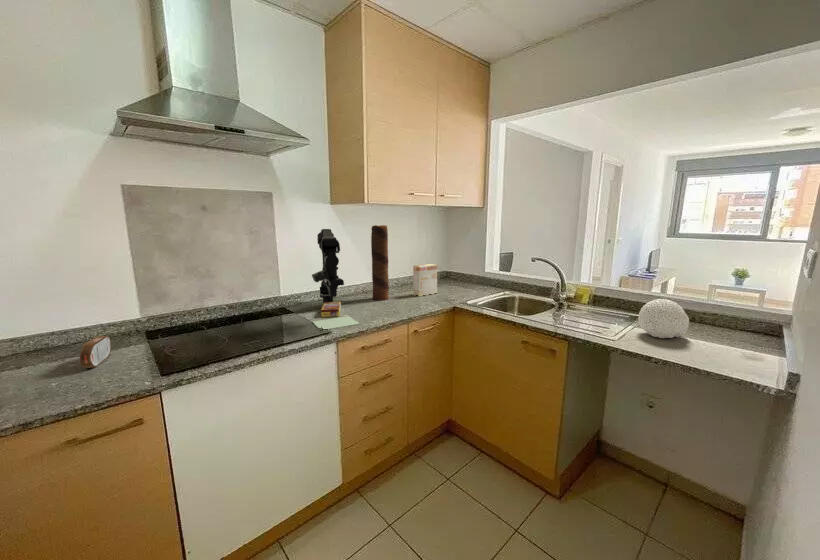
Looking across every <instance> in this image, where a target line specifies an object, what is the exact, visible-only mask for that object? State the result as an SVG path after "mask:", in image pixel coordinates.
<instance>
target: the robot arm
mask: <svg viewBox="0 0 820 560" xmlns="http://www.w3.org/2000/svg"><path fill="white" fill-rule="evenodd" d="M316 241H317V245H318V247H319V249H320V250H321V255H322V256H321V257H322V269H321V270H320V271H318V272H315V273H313V274H311V277H312V280H313V282H315V283H319V282H320V286H319V297H320V299H321V298H322V305H320V307H321V308H322V307H323V305H324V302H334V297H337V296H338V287H339V286H344V285H345V280H344V279H342V278H341V277H339V275H338V270H339V266H338V265H339V262H340V260H339V257H338V256H337V254H339V253H340V252H341V245H340V241H339V240H338V239H337V238H336V237H335V234H334V233H333V232H332V229H331V228H322V229H320V232H319V233H318V234H317V240H316Z"/></svg>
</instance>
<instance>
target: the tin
mask: <svg viewBox="0 0 820 560" xmlns="http://www.w3.org/2000/svg"><path fill="white" fill-rule="evenodd" d="M111 345H112V342H111V338H110V336H108V335H96V336H95V337H94V338H93V337H92V339H90V340H89V341H87V342H85V343H84V344H83V345H82V347H81V350H80V353H79V362H80V365H81V367H82V368H83V369H92V368H97V367H99V365H101V364H102V363H103V362H104V361H106V360H107V359H108V358H109V357H110V355H111V352H112V346H111Z"/></svg>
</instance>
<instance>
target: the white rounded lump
mask: <svg viewBox="0 0 820 560" xmlns="http://www.w3.org/2000/svg"><path fill="white" fill-rule="evenodd" d="M637 321H638V323H637V324H639V326H640V327H641V329H642V330H643V331H644V332H646V334H648V335H650V336H652V337H655V338H660V339H665V338H666V339H667V338H674V337H675V338H679V337H680V336H683V335H685V333H687V331H688V330H689V326H690V325H689V324H690V318H689V316H688V315H687V313H686V311H685V310H684V308H683V307H682V306H681V305H679V303H677V302H675V301H672V300H671V299H667V298H659V299H658V298H657V299H654V300H653V299H652V300H649V301H648V302H646V303H645V304H644V305H643V306H642V307H641V308H640V311H639V312H638V320H637Z"/></svg>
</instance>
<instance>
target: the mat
mask: <svg viewBox="0 0 820 560" xmlns="http://www.w3.org/2000/svg"><path fill="white" fill-rule="evenodd" d="M312 322H313V323H314V324H313V323H312V324H313V325H314V326H315V327H317V329H319V328H321V327H322V328H323V329H328V330H327V331H329V330H334V329H340V328H345V327H346V328H347V327H352V326H359V325H360V323H359V322H358V321H357V320H355V319H354V318H352V317H351V316H349V315H347V316H339V317H334V318H327V319H321V320H315V321H312Z"/></svg>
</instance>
